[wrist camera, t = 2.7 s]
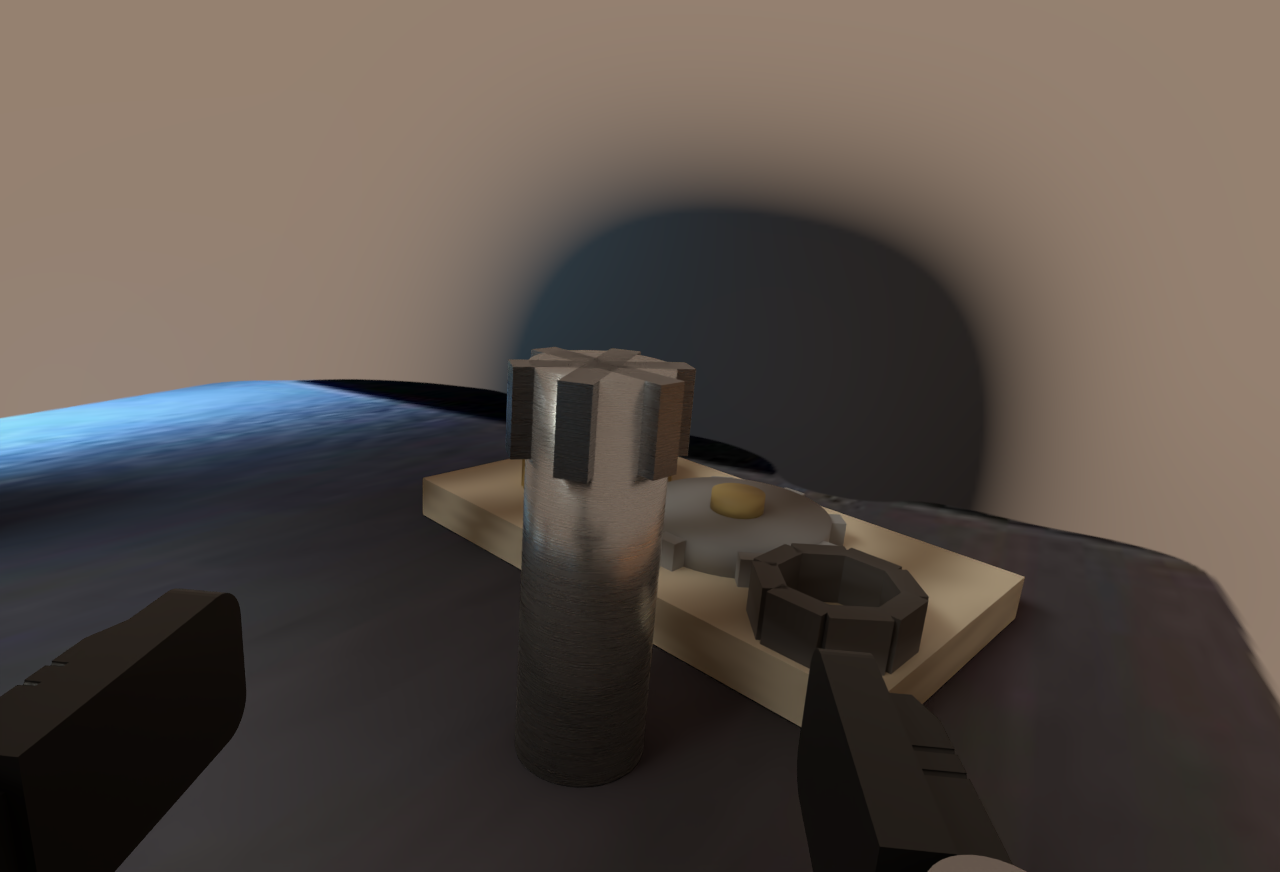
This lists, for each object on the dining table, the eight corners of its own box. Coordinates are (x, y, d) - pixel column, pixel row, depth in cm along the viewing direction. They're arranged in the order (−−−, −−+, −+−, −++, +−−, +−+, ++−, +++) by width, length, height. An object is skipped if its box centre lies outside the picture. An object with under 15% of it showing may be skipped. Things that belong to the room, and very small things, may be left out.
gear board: (422, 514, 41) (422, 436, 40) (614, 465, 51) (618, 401, 50) (860, 760, 25) (882, 642, 24) (1015, 618, 35) (1035, 529, 34)
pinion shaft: (468, 735, 25) (475, 355, 21) (581, 677, 28) (602, 342, 25) (576, 824, 21) (604, 394, 18) (689, 748, 25) (731, 373, 21)
